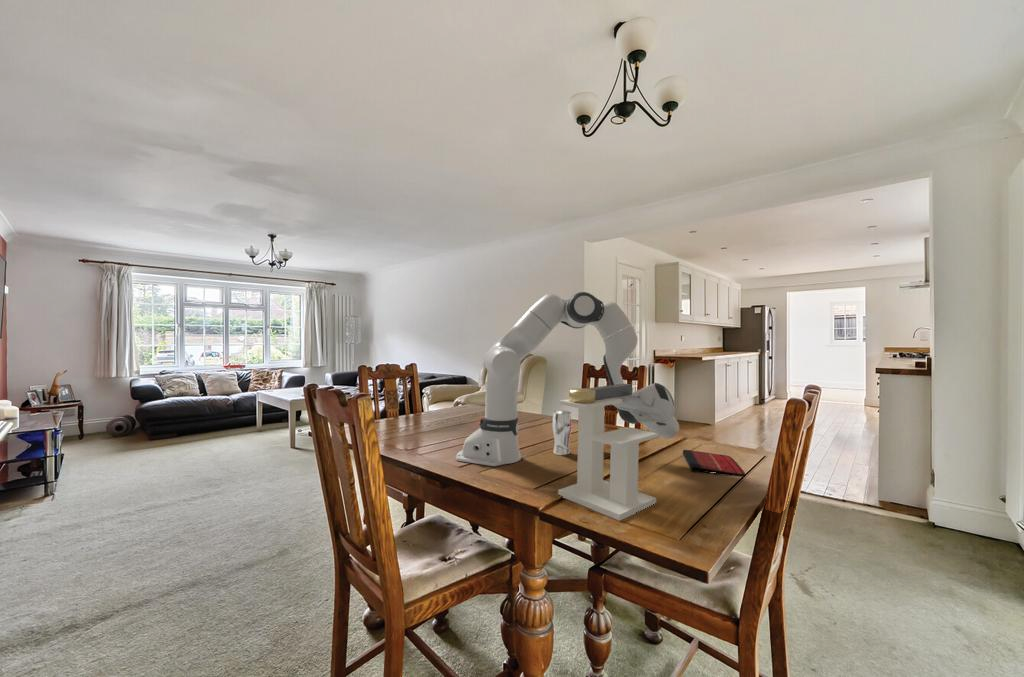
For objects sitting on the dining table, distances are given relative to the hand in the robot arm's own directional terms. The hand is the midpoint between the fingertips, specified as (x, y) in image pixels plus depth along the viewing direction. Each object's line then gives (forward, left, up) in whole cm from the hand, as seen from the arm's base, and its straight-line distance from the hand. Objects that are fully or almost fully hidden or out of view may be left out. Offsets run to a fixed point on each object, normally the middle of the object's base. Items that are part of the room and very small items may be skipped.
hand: (626, 393), depth 130 cm
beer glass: (-22, +23, -27) cm, 41 cm away
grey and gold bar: (-7, -9, 0) cm, 12 cm away
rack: (-6, -17, -26) cm, 32 cm away
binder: (+29, +23, -27) cm, 46 cm away
